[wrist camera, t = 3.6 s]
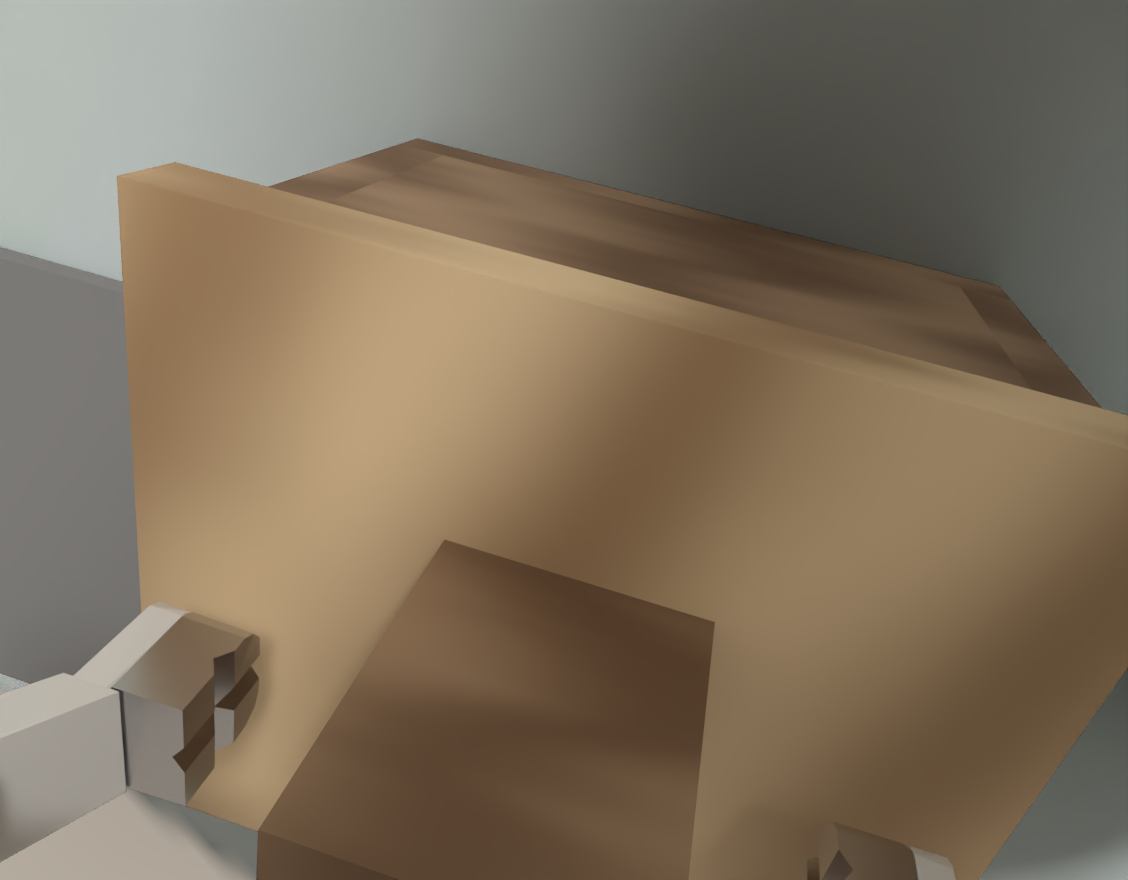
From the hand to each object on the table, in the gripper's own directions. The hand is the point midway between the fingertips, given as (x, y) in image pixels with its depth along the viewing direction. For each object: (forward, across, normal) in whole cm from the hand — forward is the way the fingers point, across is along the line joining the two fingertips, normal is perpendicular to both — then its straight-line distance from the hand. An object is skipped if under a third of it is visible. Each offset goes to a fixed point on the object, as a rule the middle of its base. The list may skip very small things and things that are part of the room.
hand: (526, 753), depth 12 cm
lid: (+3, 0, 0) cm, 3 cm away
